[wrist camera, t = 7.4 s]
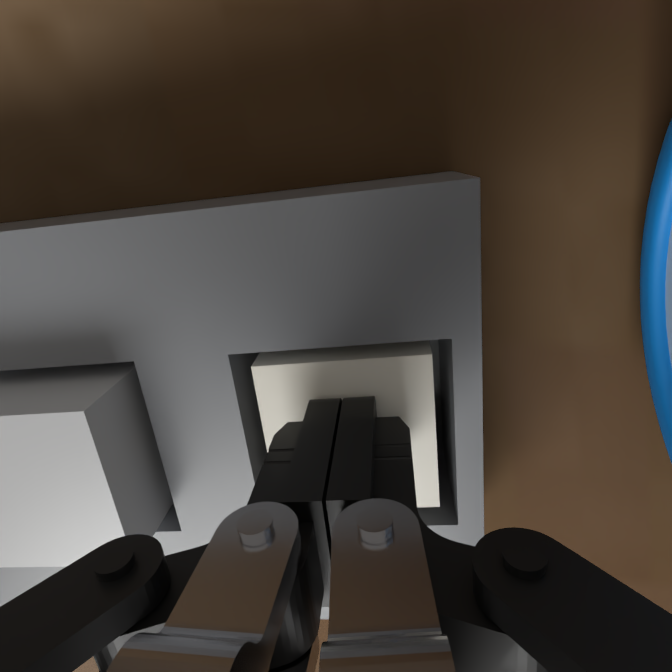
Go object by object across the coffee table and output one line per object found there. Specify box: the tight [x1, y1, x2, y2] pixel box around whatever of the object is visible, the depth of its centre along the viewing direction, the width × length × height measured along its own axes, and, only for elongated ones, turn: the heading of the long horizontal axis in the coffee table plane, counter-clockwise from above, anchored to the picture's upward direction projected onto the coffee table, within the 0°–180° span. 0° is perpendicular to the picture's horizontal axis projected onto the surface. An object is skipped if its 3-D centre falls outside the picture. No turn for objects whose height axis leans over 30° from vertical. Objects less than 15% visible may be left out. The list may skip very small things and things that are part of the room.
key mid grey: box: [0, 361, 174, 568], centre depth 12 cm, size 4×4×3 cm
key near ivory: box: [251, 340, 440, 507], centre depth 13 cm, size 4×4×3 cm
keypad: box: [0, 171, 484, 619], centre depth 14 cm, size 20×11×4 cm, turn 97°
